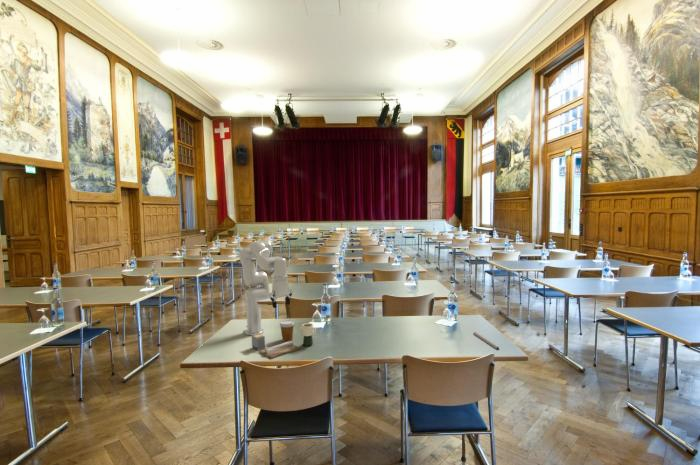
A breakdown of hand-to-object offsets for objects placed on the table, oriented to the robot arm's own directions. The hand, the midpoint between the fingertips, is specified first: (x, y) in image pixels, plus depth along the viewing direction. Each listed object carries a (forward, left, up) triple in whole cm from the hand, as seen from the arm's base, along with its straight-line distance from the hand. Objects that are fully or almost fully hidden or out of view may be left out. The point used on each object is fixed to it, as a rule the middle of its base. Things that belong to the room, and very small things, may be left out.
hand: (281, 306), depth 223 cm
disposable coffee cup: (-12, +12, -28) cm, 32 cm away
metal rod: (+84, +97, -28) cm, 131 cm away
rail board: (0, -2, -27) cm, 27 cm away
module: (-13, -9, -27) cm, 32 cm away
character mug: (+5, +16, -28) cm, 32 cm away
